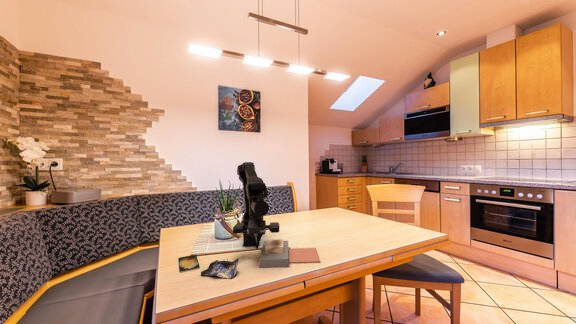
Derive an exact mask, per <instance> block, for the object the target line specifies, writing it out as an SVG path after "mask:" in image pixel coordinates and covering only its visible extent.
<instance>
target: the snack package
mask: <svg viewBox="0 0 576 324" xmlns="http://www.w3.org/2000/svg"><path fill="white" fill-rule="evenodd" d="M226 259H227V260H218V259H217V260H215V261H214V260H213V261H212V262H210V264H209V265H208V267H207V268H206V269H204V270H202V271H200V276H217V277H219V278H224V279H227V278H230V279H231V278H232V279H233V278H235V275H236V274H237V270H238V266H239V259H238V258H235V260H232V261H230V260H228V258H226ZM222 274H223V275H225V276H223V275H222ZM226 276H227V278H226Z"/></svg>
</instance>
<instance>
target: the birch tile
mask: <svg viewBox="0 0 576 324" xmlns="http://www.w3.org/2000/svg"><path fill="white" fill-rule="evenodd" d="M266 241H267V243H266V247H265V248H266V254H275V253H283V247H284V242H283V241H284V239H283V238H281V239H267V240H266Z"/></svg>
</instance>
